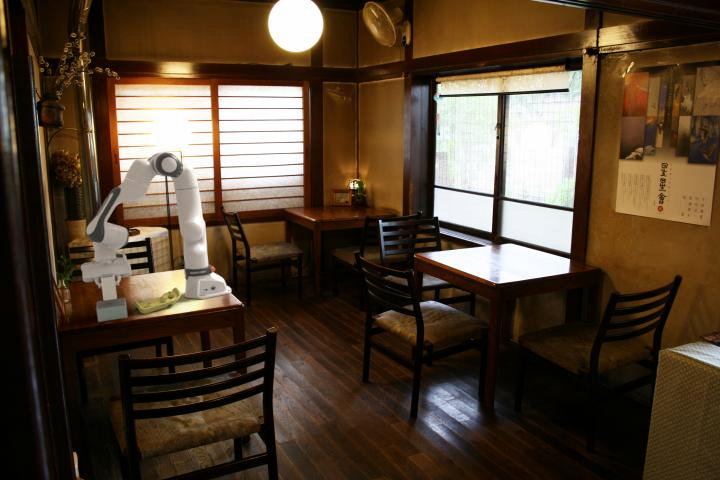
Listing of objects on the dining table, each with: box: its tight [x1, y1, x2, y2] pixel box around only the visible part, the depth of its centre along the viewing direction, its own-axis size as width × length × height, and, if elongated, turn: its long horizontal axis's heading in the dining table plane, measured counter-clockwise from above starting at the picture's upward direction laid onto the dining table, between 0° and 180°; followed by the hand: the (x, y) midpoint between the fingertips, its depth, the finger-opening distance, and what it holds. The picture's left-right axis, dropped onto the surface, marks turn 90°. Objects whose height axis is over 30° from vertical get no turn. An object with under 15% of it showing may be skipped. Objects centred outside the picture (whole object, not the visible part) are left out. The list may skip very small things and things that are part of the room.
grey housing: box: [100, 273, 118, 301], centre depth 263 cm, size 6×6×11 cm
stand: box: [96, 297, 129, 323], centre depth 265 cm, size 12×12×6 cm
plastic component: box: [133, 287, 182, 315], centre depth 275 cm, size 20×7×10 cm
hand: (108, 286), depth 262 cm, fingers closed on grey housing, 5 cm apart
